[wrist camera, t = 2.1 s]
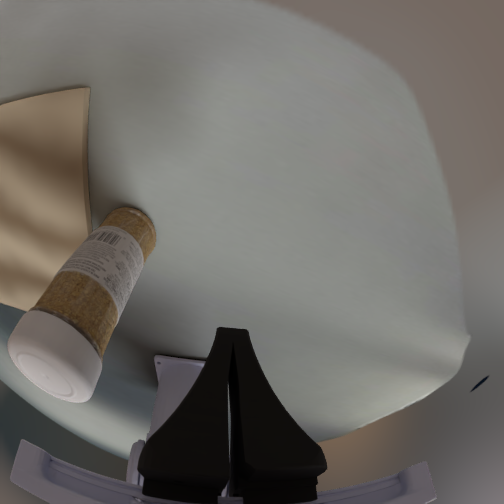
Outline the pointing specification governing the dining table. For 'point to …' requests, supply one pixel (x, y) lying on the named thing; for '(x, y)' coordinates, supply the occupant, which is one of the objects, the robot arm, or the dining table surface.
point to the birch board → (42, 191)
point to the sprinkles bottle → (82, 308)
